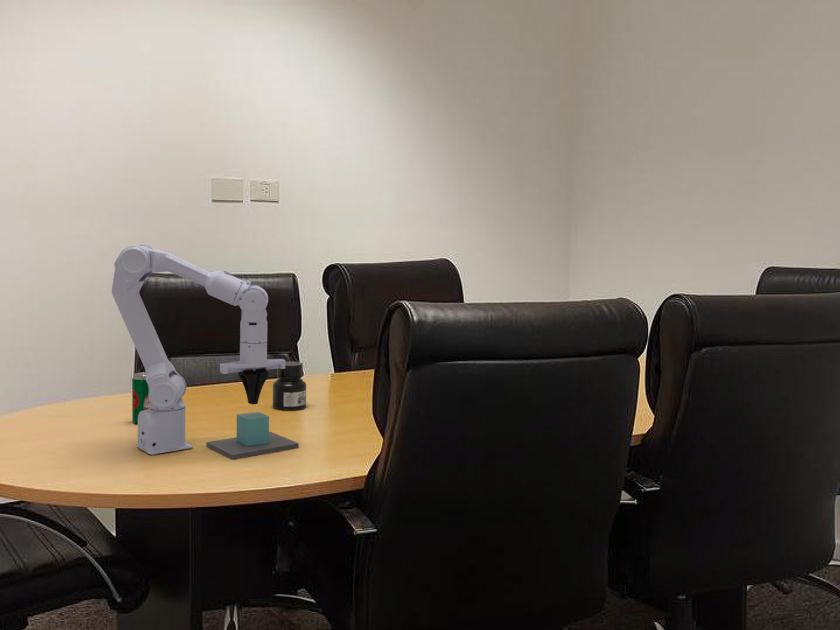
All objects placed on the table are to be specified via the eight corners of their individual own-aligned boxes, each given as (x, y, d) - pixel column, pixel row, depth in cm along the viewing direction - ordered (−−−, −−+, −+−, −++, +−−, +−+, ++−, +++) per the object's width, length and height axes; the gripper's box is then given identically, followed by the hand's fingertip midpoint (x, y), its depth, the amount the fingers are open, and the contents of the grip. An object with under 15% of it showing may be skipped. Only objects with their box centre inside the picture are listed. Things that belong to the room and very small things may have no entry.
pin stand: (232, 459, 162) (232, 429, 161) (206, 446, 171) (206, 417, 170) (298, 447, 173) (298, 418, 172) (270, 435, 182) (271, 408, 181)
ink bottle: (289, 413, 205) (290, 367, 204) (264, 408, 209) (265, 363, 208) (313, 406, 213) (314, 363, 212) (288, 402, 218) (289, 359, 216)
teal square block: (246, 446, 168) (246, 419, 168) (236, 441, 172) (236, 414, 172) (268, 443, 171) (269, 416, 171) (258, 437, 175) (258, 411, 175)
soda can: (147, 425, 187) (146, 376, 186) (128, 424, 188) (127, 375, 187) (158, 420, 192) (158, 372, 191) (139, 419, 193) (139, 371, 192)
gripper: (275, 337, 177) (274, 396, 178) (214, 341, 168) (213, 403, 170) (290, 341, 171) (289, 402, 173) (227, 345, 163) (227, 409, 164)
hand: (252, 403), depth 171 cm, fingers closed
